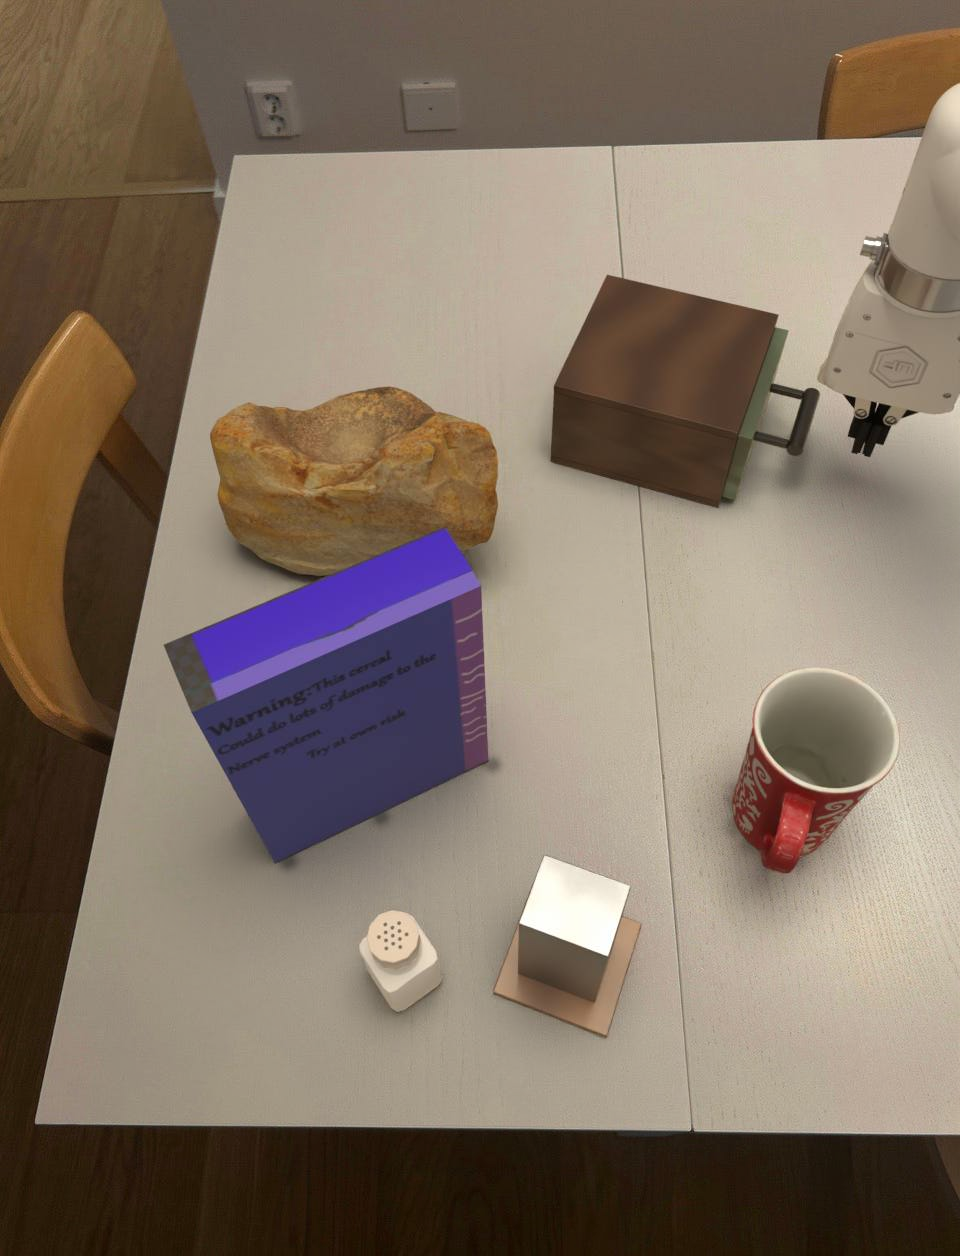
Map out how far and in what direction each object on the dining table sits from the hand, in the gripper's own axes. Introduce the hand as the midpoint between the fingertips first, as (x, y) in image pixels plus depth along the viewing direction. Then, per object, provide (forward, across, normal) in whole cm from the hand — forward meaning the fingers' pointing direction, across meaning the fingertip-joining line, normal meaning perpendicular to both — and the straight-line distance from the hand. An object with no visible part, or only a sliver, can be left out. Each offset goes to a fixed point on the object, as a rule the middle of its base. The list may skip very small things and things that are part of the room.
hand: (863, 443), depth 91 cm
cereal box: (+5, -28, -42) cm, 50 cm away
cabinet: (+5, -18, 0) cm, 18 cm away
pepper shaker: (+5, -20, -54) cm, 58 cm away
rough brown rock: (+5, -38, -18) cm, 42 cm away
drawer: (+4, -14, 0) cm, 14 cm away
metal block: (+4, -10, -49) cm, 50 cm away
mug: (+5, +1, -35) cm, 35 cm away
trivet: (+5, -10, -49) cm, 50 cm away
